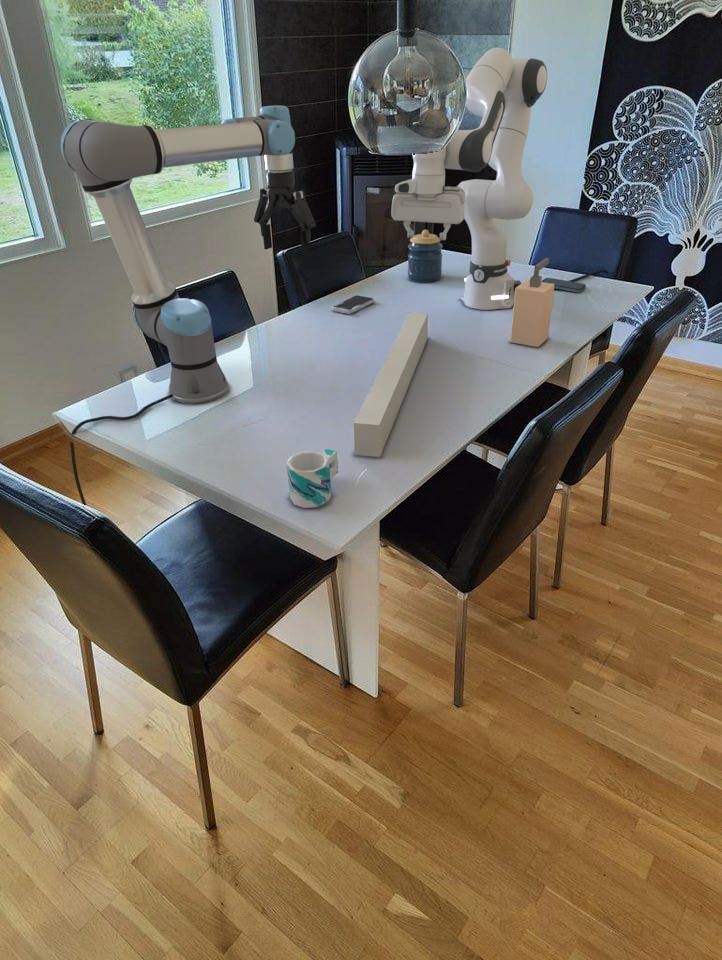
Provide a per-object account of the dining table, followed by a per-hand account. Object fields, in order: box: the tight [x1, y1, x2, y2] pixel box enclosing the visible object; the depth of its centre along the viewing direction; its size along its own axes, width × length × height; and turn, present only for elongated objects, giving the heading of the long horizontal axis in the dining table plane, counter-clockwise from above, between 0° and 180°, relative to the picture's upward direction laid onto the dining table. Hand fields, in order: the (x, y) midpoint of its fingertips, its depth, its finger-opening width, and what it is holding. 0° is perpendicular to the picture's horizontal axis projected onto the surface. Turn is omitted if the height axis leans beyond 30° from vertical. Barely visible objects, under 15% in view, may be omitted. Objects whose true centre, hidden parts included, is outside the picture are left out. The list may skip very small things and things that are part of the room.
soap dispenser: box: [510, 257, 555, 348], centre depth 195 cm, size 13×9×22 cm
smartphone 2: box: [541, 277, 587, 293], centre depth 241 cm, size 8×2×15 cm
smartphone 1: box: [331, 295, 374, 315], centre depth 231 cm, size 8×1×15 cm
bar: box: [353, 312, 429, 458], centre depth 174 cm, size 71×6×8 cm, turn 167°
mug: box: [286, 448, 339, 509], centre depth 133 cm, size 8×12×8 cm
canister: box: [407, 229, 444, 283], centre depth 252 cm, size 13×13×18 cm
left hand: (286, 251), depth 194 cm, fingers open, 13 cm apart
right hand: (426, 238), depth 188 cm, fingers open, 8 cm apart
